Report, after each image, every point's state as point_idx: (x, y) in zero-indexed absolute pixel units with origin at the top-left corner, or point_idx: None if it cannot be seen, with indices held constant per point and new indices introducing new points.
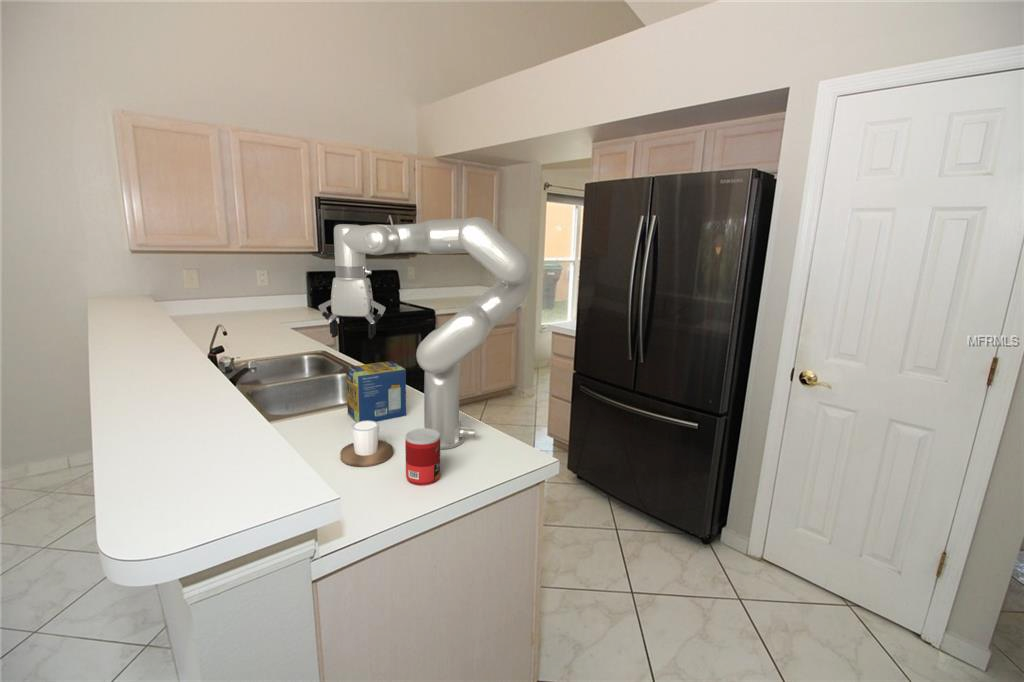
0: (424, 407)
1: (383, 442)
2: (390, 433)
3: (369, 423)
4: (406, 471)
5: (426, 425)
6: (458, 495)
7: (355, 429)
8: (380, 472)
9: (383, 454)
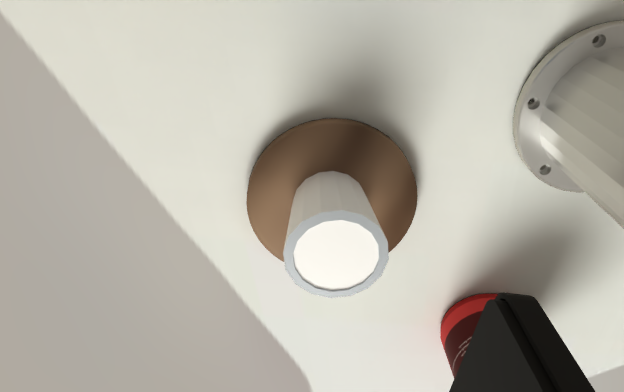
0: (605, 177)
1: (386, 150)
2: (412, 25)
3: (350, 237)
4: (445, 352)
5: (569, 169)
6: None
7: (303, 285)
8: (374, 292)
9: (385, 233)
